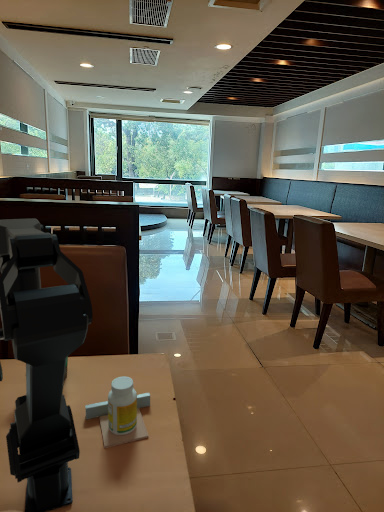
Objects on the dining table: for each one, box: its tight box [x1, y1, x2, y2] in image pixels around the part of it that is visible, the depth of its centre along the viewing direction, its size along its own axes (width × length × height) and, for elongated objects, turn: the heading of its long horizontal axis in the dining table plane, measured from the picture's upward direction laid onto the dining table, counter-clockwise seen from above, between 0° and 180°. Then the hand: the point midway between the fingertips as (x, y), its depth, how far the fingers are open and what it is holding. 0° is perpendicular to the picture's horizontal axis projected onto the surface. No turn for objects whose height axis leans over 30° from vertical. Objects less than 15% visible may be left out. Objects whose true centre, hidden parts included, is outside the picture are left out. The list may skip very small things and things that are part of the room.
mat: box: [99, 408, 149, 449], centre depth 66 cm, size 8×8×1 cm
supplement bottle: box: [107, 376, 138, 435], centre depth 65 cm, size 5×5×10 cm
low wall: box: [84, 392, 151, 420], centre depth 70 cm, size 1×13×2 cm, turn 111°
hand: (30, 375), depth 61 cm, fingers open, 9 cm apart
